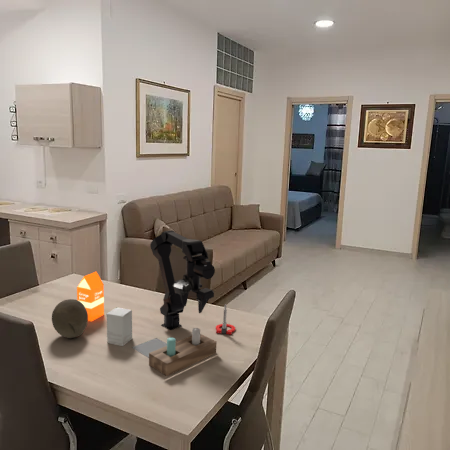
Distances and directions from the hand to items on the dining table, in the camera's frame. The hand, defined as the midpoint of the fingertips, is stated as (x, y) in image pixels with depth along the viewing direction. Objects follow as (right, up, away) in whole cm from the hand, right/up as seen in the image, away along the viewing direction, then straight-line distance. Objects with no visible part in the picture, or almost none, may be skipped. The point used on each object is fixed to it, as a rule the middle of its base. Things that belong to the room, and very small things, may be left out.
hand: (192, 309), depth 170 cm
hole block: (-2, -16, -13) cm, 21 cm away
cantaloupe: (-49, -11, +1) cm, 51 cm away
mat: (-14, -14, -6) cm, 21 cm away
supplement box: (-29, -13, -1) cm, 31 cm away
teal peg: (-6, -17, -18) cm, 25 cm away
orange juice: (-47, -7, +21) cm, 52 cm away
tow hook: (+13, -12, +13) cm, 22 cm away
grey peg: (+2, -15, -9) cm, 18 cm away
